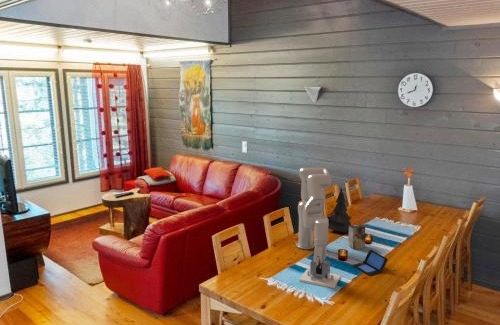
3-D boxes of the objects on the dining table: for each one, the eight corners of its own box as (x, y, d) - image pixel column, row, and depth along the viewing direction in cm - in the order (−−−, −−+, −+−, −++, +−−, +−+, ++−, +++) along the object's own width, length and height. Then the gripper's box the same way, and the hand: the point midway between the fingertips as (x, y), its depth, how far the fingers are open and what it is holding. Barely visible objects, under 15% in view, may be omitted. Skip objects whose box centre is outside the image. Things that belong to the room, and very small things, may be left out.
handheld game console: (352, 266, 240) (352, 252, 239) (369, 263, 246) (370, 249, 244) (369, 277, 226) (370, 262, 225) (387, 273, 232) (388, 258, 230)
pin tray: (306, 271, 235) (306, 265, 234) (340, 277, 226) (340, 271, 225) (299, 281, 222) (299, 275, 222) (334, 288, 214) (334, 282, 213)
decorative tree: (345, 237, 287) (347, 191, 281) (326, 233, 296) (327, 188, 289) (352, 232, 299) (354, 187, 293) (334, 228, 307) (336, 184, 301)
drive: (312, 271, 228) (313, 258, 227) (329, 274, 224) (330, 261, 222) (310, 275, 224) (310, 261, 222) (327, 278, 219) (328, 264, 218)
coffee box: (359, 246, 272) (360, 223, 269) (364, 249, 266) (365, 226, 263) (347, 247, 270) (348, 225, 267) (352, 251, 264) (353, 228, 261)
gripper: (318, 235, 229) (317, 264, 233) (310, 245, 214) (309, 276, 218) (331, 237, 226) (330, 267, 229) (323, 248, 211) (322, 279, 214)
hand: (320, 271), depth 223 cm, fingers closed on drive, 5 cm apart
